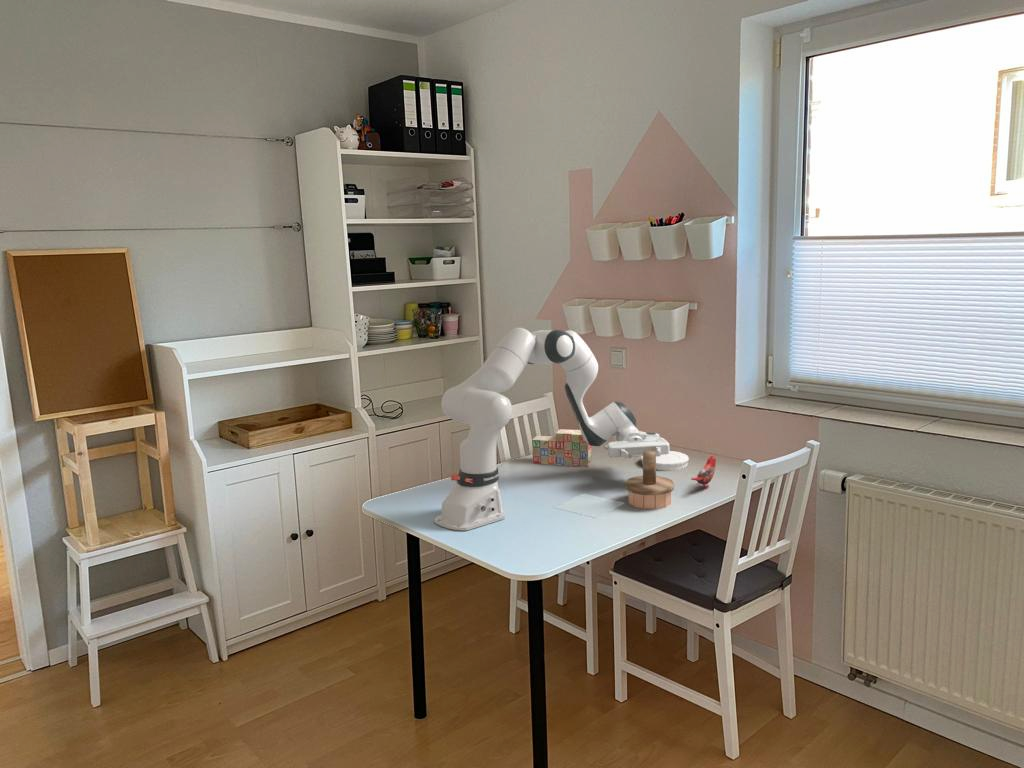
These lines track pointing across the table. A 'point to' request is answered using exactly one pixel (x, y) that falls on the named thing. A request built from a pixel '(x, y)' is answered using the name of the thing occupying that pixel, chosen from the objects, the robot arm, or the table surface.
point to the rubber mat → (589, 505)
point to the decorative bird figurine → (706, 472)
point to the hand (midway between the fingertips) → (643, 455)
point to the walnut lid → (649, 478)
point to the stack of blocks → (562, 449)
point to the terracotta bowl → (649, 500)
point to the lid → (671, 461)
